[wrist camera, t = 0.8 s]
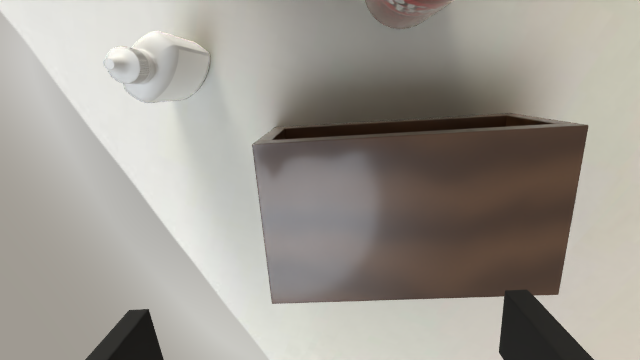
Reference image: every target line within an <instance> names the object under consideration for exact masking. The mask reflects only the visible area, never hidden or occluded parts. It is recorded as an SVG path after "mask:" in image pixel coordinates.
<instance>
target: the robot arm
mask: <svg viewBox="0 0 640 360" xmlns="http://www.w3.org/2000/svg"><path fill="white" fill-rule="evenodd" d="M499 353H500V355H501V356H502V358H503V359H504V360H594V359H593V358H592V357H591V356H590V355H589V354H588V353H587V352H586V351H585V350H584V349H583V348H582V347H581V346H580V345H579V344H578V342H577V341H576V340H575V339H574V338H573V337H572V336H571V335H570V334H569V333H568V332H567V331H566V330H565V329H564V328H563V327H562V326H561V324H560V323H559V322H558V321H557V320H556V319H555V318H554V317H553V316H552V315H551V314H550V313H549V312H548V311H547V310H546V309H545V308H544V306H543V305H542V304H541V303H540V302H539V301H538V300H537V299H536V298H535V297H534V296H533V295H532V294H531V293H530V292H529V291H528V290H527V289H525V290H506V291H505V296H504V306H503V316H502V326H501V337H500V347H499ZM86 360H163V356H162V353H161V349H160V346H159V343H158V339H157V336H156V333H155V329H154V326H153V322H152V320H151V316H150V313H149V309H143V310H129V311H128V312H127V313H126V314H125V315H124V317H123V318H122V319H121V320H120V321H119V322H118V323H117V325H116V326H115V327H114V328H113V329H112V330H111V331H110V332H109V334H108V335H107V336H106V337H105V338H104V339H103V340H102V342H101V343H100V344H99V345H98V346H97V347H96V348H95V349H94V351H93V352H92V353H91V354H90V355H89V356H88V357H87V358H86Z"/></svg>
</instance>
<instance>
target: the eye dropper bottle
mask: <svg viewBox="0 0 640 360" xmlns="http://www.w3.org/2000/svg"><path fill="white" fill-rule="evenodd" d="M103 63H104V66H105V68H107V70H108V72H109V74H110V75H111V77H113V78H114V79H115V80H116V81H118V82H121V83H123V86H124V89H125V90H126V91H127V92H128V93H129V94H130V95H132V96H133V97H134V98H136V99H138V100H139V101H141V102H144V103H155V102H166V101H176V100H184V99H187V98H189V97H190V96H191V95H193V94H194V93H195V92H196V91H197V90H198V89H199V88H200V86H201V85H202V83H203V82H204V80H205V78H206V75H207V73H208V69H209V64H210V55H209V53H208V52H207V51H206V50H205V49H204V48H202V47H201V46H200V45H198V44H197V43H195V42H193V41H190V40H187V39H183V38H180V37H177V36H174V35H171V34H167V33H164V32H160V31H152V32H149V33H148V34H146V35H145V36H143V37H142V38H140V39H139V40H138V41H137V42H136V43H135V44H134V45H133V47H132V48H129V47H124V46H117V47H114V48H112V49H111V50H110V51H109V52H108V54H107V56H106V59H105V60H104V62H103Z"/></svg>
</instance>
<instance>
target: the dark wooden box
mask: <svg viewBox="0 0 640 360" xmlns="http://www.w3.org/2000/svg"><path fill="white" fill-rule="evenodd" d="M587 131H588V125H584V124H578V123H571V122H564V121H558V120H551V119H545V118H538V117H532V116H526V115H519V114H513V113H505V114H488V115H472V116H455V117H438V118H421V119H404V120H387V121H370V122H354V123H337V124H320V125H303V126H286V127H275V128H273V129H272V130H271V131H270V132H268V133H267V134H266V135H264V136H263V137H262V138H260V139H259V140H258V141H256V142H255V143H253V144H252V147H253V155H254V163H255V171H256V179H257V187H258V195H259V203H260V211H261V219H262V227H263V235H264V243H265V251H266V259H267V267H268V275H269V283H270V291H271V299H272V304H277V303H309V302H340V301H372V300H404V299H436V298H467V297H499V296H505V291H506V290H525V289H527V290H528V291H529V292H530V293H531V294H532V295H558V293H559V288H560V282H561V276H562V271H563V265H564V260H565V254H566V248H567V243H568V237H569V232H570V226H571V220H572V215H573V209H574V204H575V198H576V192H577V187H578V181H579V176H580V170H581V164H582V159H583V153H584V148H585V142H586V136H587Z"/></svg>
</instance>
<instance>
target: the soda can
mask: <svg viewBox="0 0 640 360" xmlns="http://www.w3.org/2000/svg"><path fill="white" fill-rule="evenodd" d="M453 1H454V0H365V2H366V5H367V7H368V9H369V11H370V12H371V14H372V15H373V17H374V18H375V19H377V20H378V21H379V22H380V23H382V24H383V25H385V26H388V27H391V28H395V29H406V28H411V27H414V26H417V25H419V24H420V23H422V22H424V21H425V20H427V19H428V18H430V17H431V16H432V15H434V14H435V13H437V12H438V11H440V10H441V9H443V8H444V7H446V6H447V5H448V4H450V3H451V2H453Z"/></svg>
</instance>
